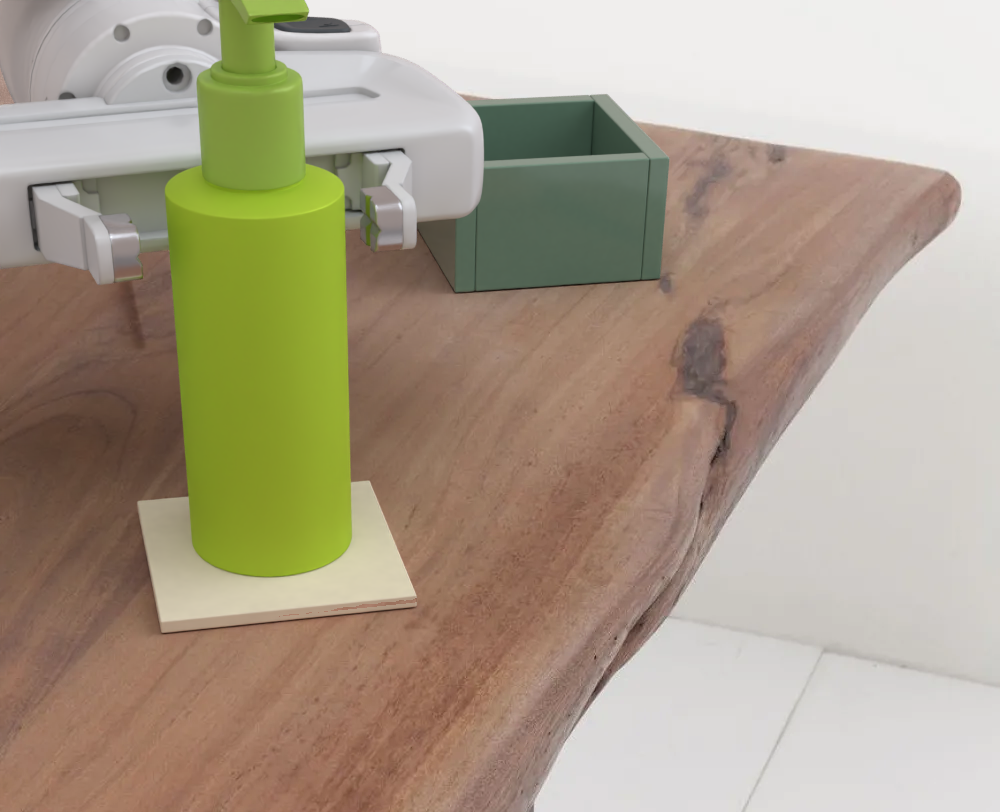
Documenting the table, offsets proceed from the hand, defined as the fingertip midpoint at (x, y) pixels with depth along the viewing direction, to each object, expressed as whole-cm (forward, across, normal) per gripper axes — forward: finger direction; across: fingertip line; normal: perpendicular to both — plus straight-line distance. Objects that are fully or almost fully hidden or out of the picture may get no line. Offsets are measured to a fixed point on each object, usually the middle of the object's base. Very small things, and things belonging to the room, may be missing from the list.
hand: (261, 244), depth 62 cm
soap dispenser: (0, 0, +12) cm, 12 cm away
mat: (0, 0, +12) cm, 12 cm away
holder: (-27, +21, +12) cm, 36 cm away
